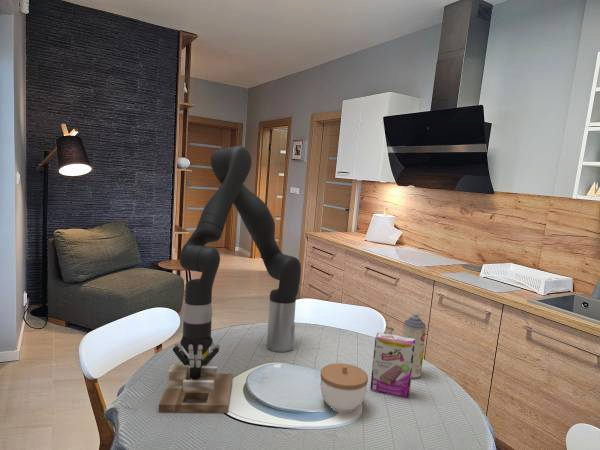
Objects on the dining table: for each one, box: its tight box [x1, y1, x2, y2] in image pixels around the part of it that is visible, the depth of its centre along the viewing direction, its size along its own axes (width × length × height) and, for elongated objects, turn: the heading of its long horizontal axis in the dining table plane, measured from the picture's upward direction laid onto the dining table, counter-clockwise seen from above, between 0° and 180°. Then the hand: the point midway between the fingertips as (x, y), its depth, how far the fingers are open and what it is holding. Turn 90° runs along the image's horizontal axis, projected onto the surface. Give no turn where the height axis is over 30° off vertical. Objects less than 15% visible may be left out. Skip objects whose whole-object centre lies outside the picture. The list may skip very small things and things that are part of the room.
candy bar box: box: [369, 331, 416, 399], centre depth 120 cm, size 11×5×16 cm, turn 71°
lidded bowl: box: [320, 362, 369, 414], centre depth 110 cm, size 13×13×11 cm
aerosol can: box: [402, 312, 427, 380], centre depth 131 cm, size 7×7×20 cm
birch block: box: [167, 363, 189, 386], centre depth 114 cm, size 4×4×4 cm
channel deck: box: [158, 365, 234, 414], centre depth 111 cm, size 17×17×4 cm
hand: (195, 378), depth 114 cm, fingers closed
